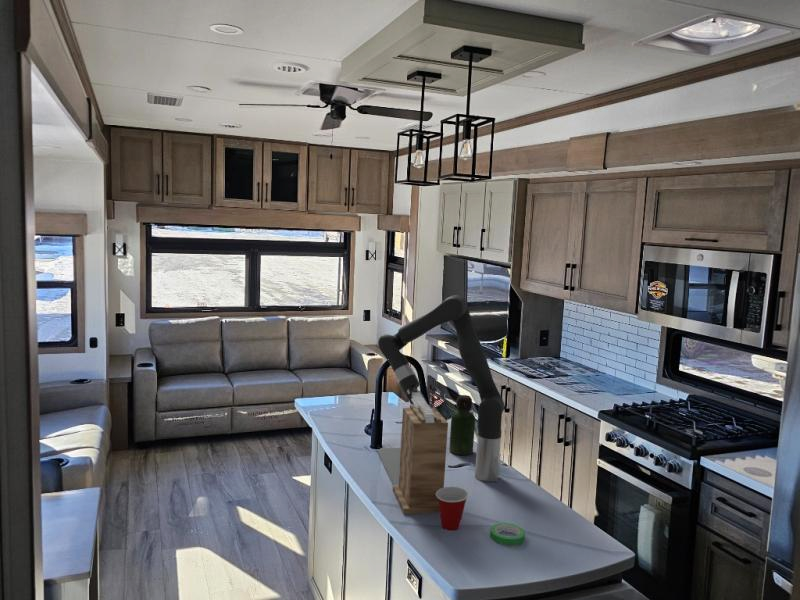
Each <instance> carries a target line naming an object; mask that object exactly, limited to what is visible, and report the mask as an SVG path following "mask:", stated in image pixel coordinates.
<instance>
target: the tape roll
mask: <svg viewBox="0 0 800 600" xmlns="http://www.w3.org/2000/svg"><path fill="white" fill-rule="evenodd" d="M489 529H490V531H489V537H490V538H491V540H492V541H493V542H495V543H496V544H501V545H504V546H509V547H511V546H512V547H513V546H519V545H522V544H523V543H524V542H525V539H526V538H525V536H526V532H525V530H524V528H523V527H521V526H519V525H517V524H514V523H511V522H510V523H509V522H497V523H494V524H492V525H491V527H490V528H489ZM503 532H505V533H511V534H514V535H513V536H512V535H510V536H509V535H505V534H501V533H503Z"/></svg>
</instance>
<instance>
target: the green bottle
mask: <svg viewBox="0 0 800 600" xmlns="http://www.w3.org/2000/svg"><path fill="white" fill-rule="evenodd" d="M455 407H456V411H454V412H453V413H452V414H451V417H450V431H449V447H448V450H449V452H450V453H452V454H453V453H454V455H457V456H470V455H471V454H473V452H474V442H475V426H476V417H475V414H474V413H472V412H471V411H472V408H473V399H472V397H471V395H467V394H460V395H459V396H457V399H456V406H455ZM469 454H470V455H469Z"/></svg>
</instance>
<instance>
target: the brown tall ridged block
mask: <svg viewBox="0 0 800 600" xmlns="http://www.w3.org/2000/svg"><path fill="white" fill-rule="evenodd" d="M428 406H429V407H430V409H431V410H432V412H433V413H434V414H435V415H434V423H425V422H426V420H425V418H424V417H423V416H422V414H421V413H420V412H419V410H418V409H417V408H416V407H415V405H411V404H409V407H402V421H401V422H402V423H401V437H400V438H401V439H400V448H401V453H400V470H399V485H392V492H394V493H393V495H394V494H395V495H394V497H395V499H396V501H397V503H398V505H400V506H399V508H400V509H401V512H402V514H403V515H421V514H422V513H424V514H425V515H426V514H440V509H439V502H438V498H437V496H436V491H438V490H439V489H441V488H444V487H445V474H446V472H445V471H446V460H447V459H446V458H447V445H448V443H447V442H448V429H449V428H448V427H449V422H448V421H447V420H446V419H445V417H443V415H442V414H441V413H440V412H439V411H438V409H437V408H436V407H431V405H429V404H428ZM420 513H421V514H420ZM424 514H423V515H424Z"/></svg>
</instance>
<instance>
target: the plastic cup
mask: <svg viewBox="0 0 800 600" xmlns="http://www.w3.org/2000/svg"><path fill="white" fill-rule="evenodd" d="M436 496H437V498H438V502H439V509H440V513H439V517H440V525H441V527H442V528H443V530H446V531H450V532H453V531H458V530H459V529H460V525H461V521H462V518H463V513H464V510H465V505H466V502H467V499H468V497H469V492H468V491H467V490H466V489H464V488H462V487H458V486H444V488H441V489H439V490H438V491H436Z"/></svg>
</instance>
